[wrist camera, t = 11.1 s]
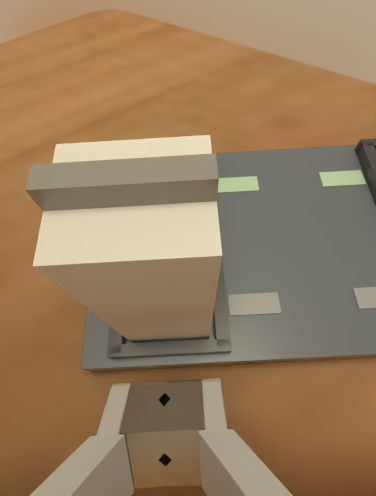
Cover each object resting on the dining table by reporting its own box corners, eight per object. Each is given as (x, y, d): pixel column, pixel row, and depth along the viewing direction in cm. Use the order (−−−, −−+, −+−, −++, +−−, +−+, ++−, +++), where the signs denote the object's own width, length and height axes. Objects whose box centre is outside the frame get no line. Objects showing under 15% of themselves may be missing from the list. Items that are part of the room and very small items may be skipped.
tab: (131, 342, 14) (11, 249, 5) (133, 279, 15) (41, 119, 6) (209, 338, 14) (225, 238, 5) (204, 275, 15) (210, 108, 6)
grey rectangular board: (91, 371, 15) (74, 367, 13) (108, 175, 20) (98, 150, 18) (548, 348, 15) (607, 340, 12) (445, 156, 20) (473, 128, 18)
